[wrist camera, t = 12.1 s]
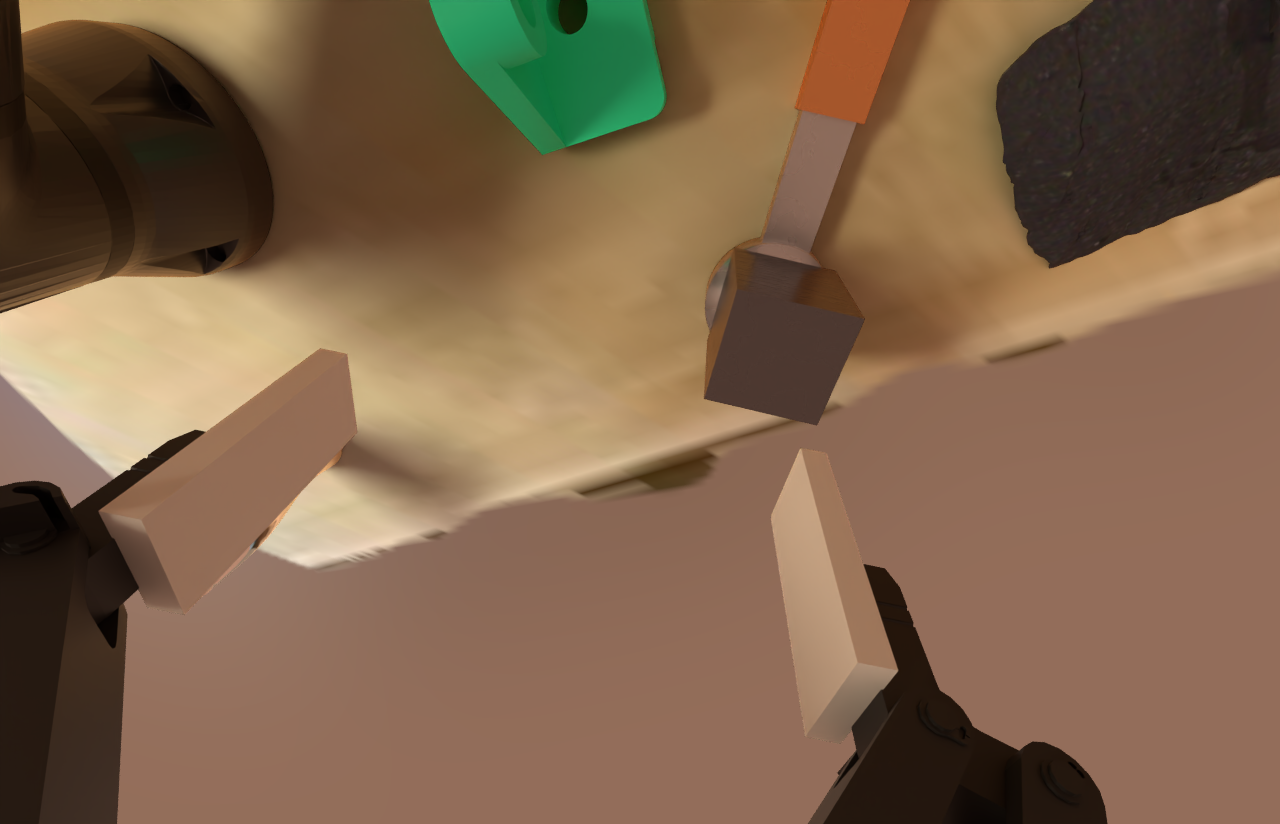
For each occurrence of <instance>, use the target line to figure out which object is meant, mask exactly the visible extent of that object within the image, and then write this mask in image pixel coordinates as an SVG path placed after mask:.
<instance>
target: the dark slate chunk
mask: <svg viewBox="0 0 1280 824" xmlns="http://www.w3.org/2000/svg"><path fill="white" fill-rule="evenodd" d="M996 110H997V116H998V120H999V123H1000V126H1001V133H1002V140H1003V146H1004V155H1003V163H1004V164H1006V171H1007V174H1008V175H1009V177H1010V179H1011V183H1013V184H1014V187H1013V189H1014V201H1015V210H1016V211H1017V213H1018V216H1019V218H1020V220H1021V224H1022V225H1023V227H1025V228H1026V229H1028V233H1027V242H1028V245H1029V246H1031V247H1032V248H1033V250H1034V252H1035V254H1037V255H1039V256H1041V257H1043V258H1045V259H1046V260H1047V261H1048V262H1049V263H1050V264H1049V268H1053V267H1057V266H1059V265H1061V264H1064V263H1068V262H1071V261H1072V260H1074V259H1076V258H1079V257H1083V256H1086V255H1089V254H1091V253H1093V252H1095V251H1097V250H1099V249H1101V248H1102V247H1104V246H1106V245H1107V244H1110V243H1112V242H1114V241H1115V240H1117V239H1119V238H1121V237H1123V236H1126V235H1132V234H1137V233H1139V232H1141V231H1143V230H1145V229H1147V228H1150V227H1154V226H1157V225H1160V224H1162V223H1164V222H1165V221H1167V220H1169V219H1171V218H1173V217H1176V216H1179V215H1183V214H1186V213H1188V212H1191V211H1193V210H1195V209H1198V208H1200V207H1203V206H1206V205H1208V204H1211V203H1215V202H1218V201H1220V200H1223V199H1224V198H1226V197H1228V196H1230V195H1233V194H1236V193H1239V192H1241V191H1243V190H1244V189H1246V188H1248V187H1250V186H1252V185H1254V184H1256V183H1258V182H1259V181H1261V180H1263V179H1265V178H1270V177H1274V176H1278V175H1280V0H1094V1H1093V2H1092V3H1090V4H1089V5H1088V6H1087V7H1085V8H1084V9H1083V10H1082V11H1081V12H1080V13H1079V14H1078V15H1077V16H1075V17H1074V18H1072V19H1071V20H1070V21H1068V22H1067V23H1065V24H1063V25H1061V26H1058V27H1056V28H1054V29H1052V30H1051V31H1049V32H1048V33H1046V34H1045V35H1043V36H1042V37H1040V38H1039V39H1037V40H1036V41H1035V42H1034V43H1033V44H1032V45H1031V46H1030V47H1029V48H1028V50H1027V51H1026V52H1025V53H1024V54H1022V55H1021V56H1020V57H1019V58H1018V59H1017V60H1016V61H1015V62H1014V63H1013V64H1012V65H1011V66H1010V67H1009V68H1008V69H1007V70H1006V71H1005V72H1004V74H1003V75H1002V76H1001V78H1000V80H999V82H998V85H997V100H996Z"/></svg>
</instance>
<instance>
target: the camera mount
mask: <svg viewBox="0 0 1280 824" xmlns="http://www.w3.org/2000/svg"><path fill="white" fill-rule="evenodd" d="M560 1H561V0H429V2H430V5H431V9H432V12H433V14H434V17H435V20H436V22H437V25H438V27H439V29H440V32H441V34H442V36H443V38H444V40H445V42H446V44H447V46H448V48H449V49H450V51H451V53H452V54H453V56H454V58H455V59H456V61H457V62H458V63H459V65H460V66H461V67H462V69H463V70H464V71H465V72H466V73H467V74H468V75H469V76H470V78H471V79H472V80H473V81H474V82H475V83H476V84H477V85H478V86H479V87H480V88H481V89H482V90H483V92H484V93H485V94H486V95H487V96H488V97H489V98H490V99H491V100H492V101H493V102H494V103H495V104H496V106H497V107H498V108H499V109H500V110H501V111H502V112H503V113H504V114H505V115H506V116H507V117H508V118H509V120H510V121H511V122H512V123H513V124H514V125H515V126H516V127H517V128H518V129H519V130H520V131H521V132H522V134H523V135H524V136H525V137H526V138H527V139H528V140H529V141H530V142H531V143H532V144H533V145H534V146H535V148H536V149H537V150H538V151H539V152H540V153H541V154H542V155H544V154H547V153H550V152H553V151H556V150H559V149H562V148H565V147H568V146H571V145H574V144H577V143H580V142H583V141H586V140H589V139H592V138H595V137H598V136H601V135H604V134H607V133H610V132H613V131H616V130H619V129H622V128H625V127H628V126H631V125H634V124H637V123H640V122H643V121H646V120H649V119H652V118H654V117H656V116H657V115H659V114H660V113H661V112H662V110H663V109H664V107H665V104H666V99H667V94H666V89H665V84H664V80H663V76H662V71H661V67H660V63H659V58H658V54H657V50H656V46H655V41H654V40H656V39H655V35H654V30H653V26H652V22H651V17H650V13H649V9H648V5H647V0H586V1H587V6H588V13H587V18H586V21H585V23H584V25H583V27H582V28H581V29H580V30H579V31H577V32H576V33H574V34H567V33H566V32H565V30H564V29H563V28H562V26H561V24H560V21H559V15H558V9H559V4H560Z"/></svg>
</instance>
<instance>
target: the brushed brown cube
mask: <svg viewBox="0 0 1280 824" xmlns="http://www.w3.org/2000/svg"><path fill="white" fill-rule="evenodd" d="M864 320H865V318H864V317H863V315H862V313H861V312H860V310H859V308H858V307H857V305H856V303H855V302H854V300H853V299H852V297H851V295H850V294H849V292H848V290H847V289H846V287H845V286H844V284H843V282H842V281H841V279H840V277H839V276H838V274H837V273H836V271H834V270H830V269H825V268H821V267H817V266H812V265H808V264H804V263H800V262H795V261H791V260H787V259H782V258H778V257H774V256H770V255H765V254H761V253H757V252H752V251H748V250H744V249H739V248H735V247H734V249H733V252H732V256H731V259H730V263H729V266H728V270H727V273H726V277H725V280H724V284H723V287H722V291H721V294H720V298H719V301H718V305H717V308H716V312H715V315H714V319H713V322H712V326H711V329H710V332H709V336H708V339H707V353H706V372H705V390H704V399H707V400H711V401H715V402H720V403H724V404H728V405H732V406H737V407H741V408H745V409H749V410H754V411H758V412H762V413H766V414H771V415H775V416H779V417H783V418H788V419H792V420H796V421H800V422H805V423H809V424H813V425H817V424H818V422H819V420H820V418H821V416H822V413H823V411H824V409H825V407H826V404H827V402H828V400H829V398H830V396H831V393H832V391H833V389H834V387H835V384H836V382H837V380H838V378H839V376H840V373H841V371H842V369H843V367H844V364H845V362H846V360H847V358H848V356H849V353H850V351H851V349H852V347H853V344H854V342H855V340H856V338H857V336H858V333H859V331H860V329H861V327H862V324H863V322H864Z"/></svg>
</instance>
